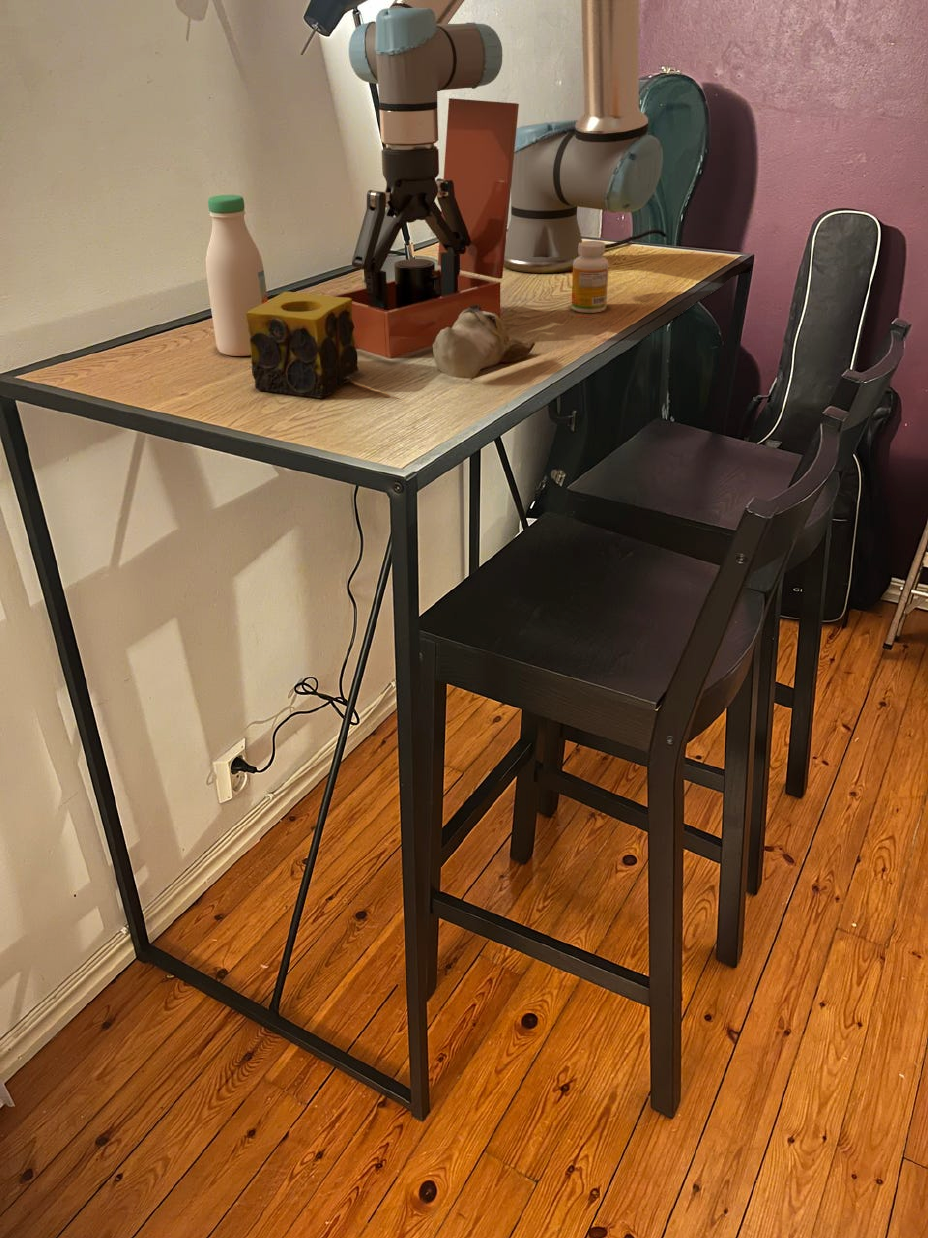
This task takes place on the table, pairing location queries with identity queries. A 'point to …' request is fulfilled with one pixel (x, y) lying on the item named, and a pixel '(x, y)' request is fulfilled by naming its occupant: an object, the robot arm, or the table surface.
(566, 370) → the table surface
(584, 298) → the supplement bottle
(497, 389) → the table surface
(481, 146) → the lid
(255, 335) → the candle
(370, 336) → the reddish-brown box
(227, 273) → the milk bottle
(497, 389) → the table surface
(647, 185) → the robot arm
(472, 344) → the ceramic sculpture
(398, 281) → the silver-capped dark cylinder
